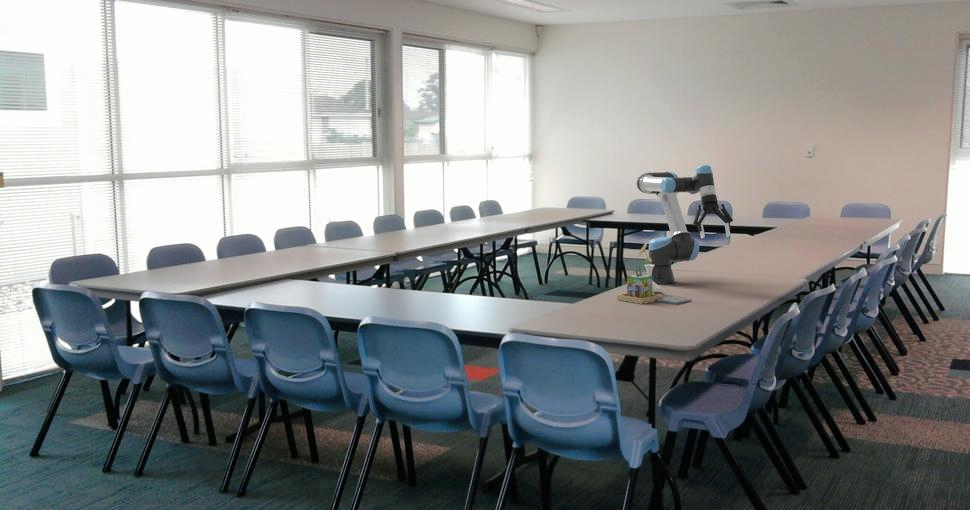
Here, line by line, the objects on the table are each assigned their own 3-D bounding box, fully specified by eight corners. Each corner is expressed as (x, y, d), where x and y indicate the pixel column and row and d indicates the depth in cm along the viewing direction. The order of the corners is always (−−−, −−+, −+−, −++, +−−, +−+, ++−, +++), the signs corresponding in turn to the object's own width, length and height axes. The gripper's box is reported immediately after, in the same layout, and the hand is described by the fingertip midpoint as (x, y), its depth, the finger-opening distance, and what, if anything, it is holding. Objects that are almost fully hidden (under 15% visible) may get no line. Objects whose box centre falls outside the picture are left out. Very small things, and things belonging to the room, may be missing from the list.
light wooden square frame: (617, 300, 434) (617, 294, 433) (638, 296, 443) (638, 291, 443) (641, 304, 422) (641, 298, 422) (662, 300, 432) (662, 294, 431)
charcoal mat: (655, 301, 428) (655, 299, 428) (671, 298, 435) (671, 296, 435) (675, 304, 419) (675, 302, 419) (691, 301, 426) (691, 299, 426)
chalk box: (643, 302, 426) (643, 271, 424) (626, 300, 432) (626, 269, 430) (653, 299, 433) (653, 268, 431) (636, 297, 439) (636, 267, 437)
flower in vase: (646, 290, 460) (646, 240, 457) (665, 292, 452) (666, 242, 449) (630, 293, 451) (630, 243, 448) (650, 296, 443) (650, 244, 440)
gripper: (688, 194, 449) (695, 236, 444) (735, 192, 454) (742, 233, 449) (682, 199, 456) (689, 240, 451) (728, 197, 461) (735, 237, 456)
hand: (715, 237), depth 450 cm, fingers open, 13 cm apart
